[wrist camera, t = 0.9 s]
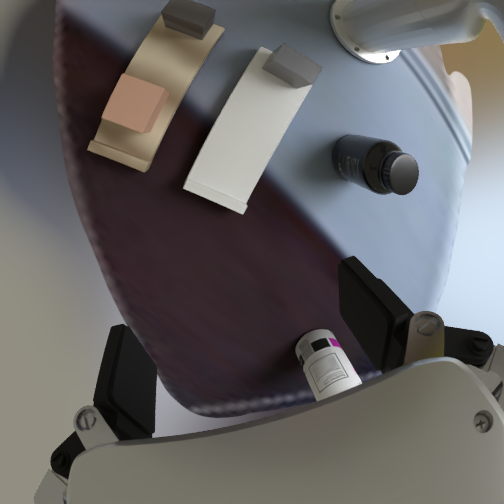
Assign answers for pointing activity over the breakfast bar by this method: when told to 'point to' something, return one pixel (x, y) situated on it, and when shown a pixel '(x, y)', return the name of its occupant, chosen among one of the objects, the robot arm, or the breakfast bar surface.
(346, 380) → the supplement can
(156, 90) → the terracotta block
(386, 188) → the supplement bottle
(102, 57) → the breakfast bar surface
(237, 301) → the breakfast bar surface
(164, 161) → the breakfast bar surface
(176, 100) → the birch strip
